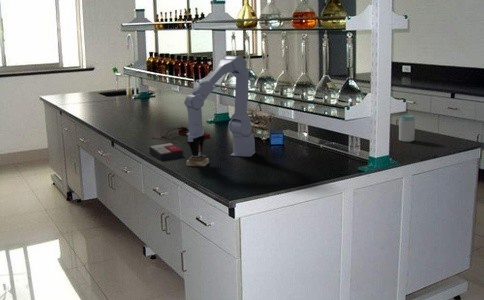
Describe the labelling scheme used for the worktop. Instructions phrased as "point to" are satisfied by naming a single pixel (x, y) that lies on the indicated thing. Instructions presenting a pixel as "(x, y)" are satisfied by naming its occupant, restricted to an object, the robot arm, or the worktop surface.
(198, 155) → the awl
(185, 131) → the digital clamp meter
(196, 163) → the tan rectangular frame
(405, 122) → the can
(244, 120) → the robot arm
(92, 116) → the worktop surface
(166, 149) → the calculator
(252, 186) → the worktop surface
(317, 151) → the worktop surface
